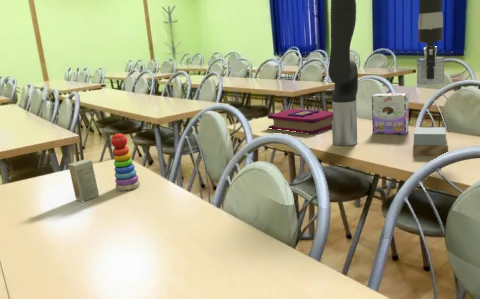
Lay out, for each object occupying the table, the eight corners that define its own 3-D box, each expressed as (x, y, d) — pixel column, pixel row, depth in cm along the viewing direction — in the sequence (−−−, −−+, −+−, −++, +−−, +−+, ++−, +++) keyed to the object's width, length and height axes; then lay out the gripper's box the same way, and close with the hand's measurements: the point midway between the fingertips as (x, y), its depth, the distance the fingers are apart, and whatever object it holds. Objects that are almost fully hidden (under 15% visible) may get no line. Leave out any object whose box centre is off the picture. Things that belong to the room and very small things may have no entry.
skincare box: (93, 193, 147) (86, 158, 144) (99, 196, 144) (93, 160, 141) (74, 200, 142) (67, 163, 139) (80, 203, 139) (73, 165, 136)
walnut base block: (413, 156, 156) (413, 145, 155) (413, 148, 166) (413, 137, 165) (447, 157, 152) (448, 145, 151) (446, 148, 162) (446, 137, 160)
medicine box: (439, 81, 155) (440, 56, 153) (444, 83, 151) (444, 57, 149) (416, 84, 156) (416, 58, 154) (420, 85, 152) (420, 59, 150)
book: (295, 121, 231) (294, 106, 229) (340, 125, 211) (340, 110, 209) (267, 129, 218) (266, 114, 216) (313, 135, 198) (312, 118, 196)
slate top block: (413, 145, 155) (413, 133, 154) (415, 138, 164) (415, 127, 163) (445, 145, 151) (445, 134, 150) (445, 138, 160) (445, 127, 159)
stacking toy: (129, 182, 155) (120, 129, 150) (145, 185, 151) (136, 131, 146) (111, 189, 149) (101, 135, 144) (127, 193, 145) (117, 137, 140)
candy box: (408, 131, 188) (409, 92, 183) (405, 135, 183) (405, 95, 179) (375, 130, 195) (375, 92, 191) (371, 133, 190) (371, 95, 186)
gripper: (418, 27, 157) (418, 76, 161) (418, 28, 144) (418, 81, 148) (441, 25, 154) (440, 74, 158) (444, 26, 141) (443, 80, 145)
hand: (430, 77), depth 153 cm, fingers closed on medicine box, 5 cm apart
